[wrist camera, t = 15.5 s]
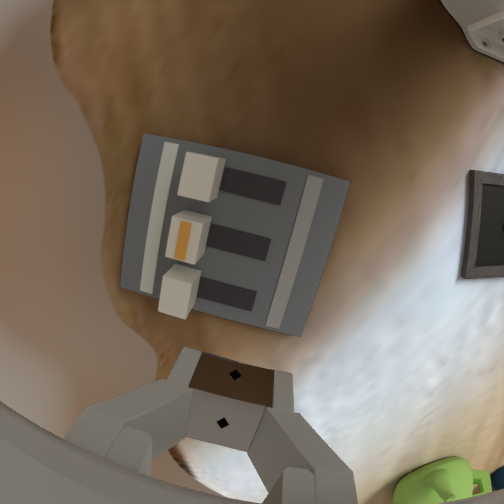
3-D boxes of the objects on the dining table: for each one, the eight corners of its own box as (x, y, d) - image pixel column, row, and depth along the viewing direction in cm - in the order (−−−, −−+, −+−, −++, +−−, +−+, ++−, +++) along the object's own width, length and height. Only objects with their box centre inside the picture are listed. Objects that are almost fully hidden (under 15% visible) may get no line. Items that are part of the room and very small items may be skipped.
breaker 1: (201, 270, 34) (191, 284, 30) (195, 303, 35) (185, 319, 31) (175, 263, 34) (162, 275, 30) (169, 296, 35) (158, 311, 32)
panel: (346, 180, 33) (350, 181, 30) (299, 328, 38) (300, 338, 36) (150, 134, 33) (142, 133, 31) (127, 281, 38) (119, 287, 36)
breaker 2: (226, 159, 31) (218, 158, 27) (217, 197, 32) (208, 202, 28) (197, 152, 31) (186, 151, 27) (189, 191, 32) (177, 194, 28)
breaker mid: (212, 216, 33) (202, 224, 29) (204, 253, 34) (194, 265, 30) (184, 209, 33) (171, 216, 29) (177, 246, 34) (164, 257, 30)
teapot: (423, 501, 48) (436, 546, 34) (364, 494, 47) (372, 550, 33) (482, 452, 43) (505, 498, 29) (430, 440, 42) (454, 500, 28)
